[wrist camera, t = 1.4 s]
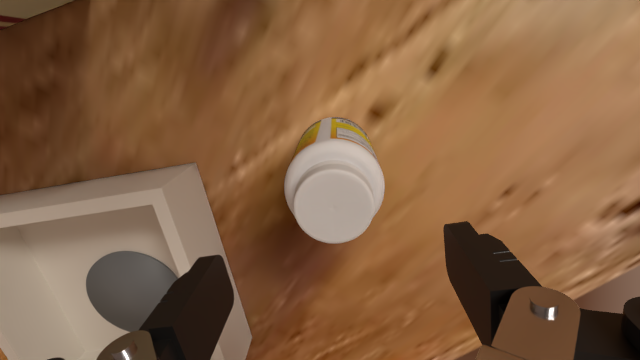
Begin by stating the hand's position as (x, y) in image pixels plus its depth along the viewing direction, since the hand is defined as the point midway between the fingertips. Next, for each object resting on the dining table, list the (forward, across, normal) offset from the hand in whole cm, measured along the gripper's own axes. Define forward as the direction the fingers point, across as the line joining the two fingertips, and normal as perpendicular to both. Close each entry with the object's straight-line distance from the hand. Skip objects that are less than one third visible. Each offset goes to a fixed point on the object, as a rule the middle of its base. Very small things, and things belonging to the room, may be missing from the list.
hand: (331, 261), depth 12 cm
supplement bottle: (+15, 0, 0) cm, 15 cm away
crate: (+15, +20, +8) cm, 26 cm away
